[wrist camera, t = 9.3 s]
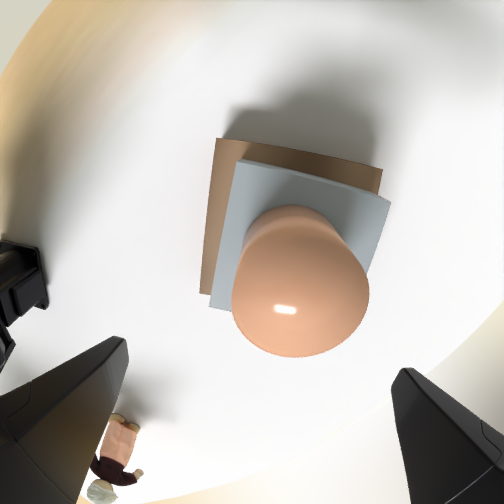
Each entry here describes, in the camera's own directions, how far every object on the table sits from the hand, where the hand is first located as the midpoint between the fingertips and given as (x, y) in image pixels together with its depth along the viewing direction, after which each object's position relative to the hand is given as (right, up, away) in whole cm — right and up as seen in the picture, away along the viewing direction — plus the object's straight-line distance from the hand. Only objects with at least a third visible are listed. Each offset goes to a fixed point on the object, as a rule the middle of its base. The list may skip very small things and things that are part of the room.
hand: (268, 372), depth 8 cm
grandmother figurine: (-16, -18, +22) cm, 33 cm away
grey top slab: (+2, +4, +9) cm, 11 cm away
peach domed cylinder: (+1, +4, +7) cm, 8 cm away
